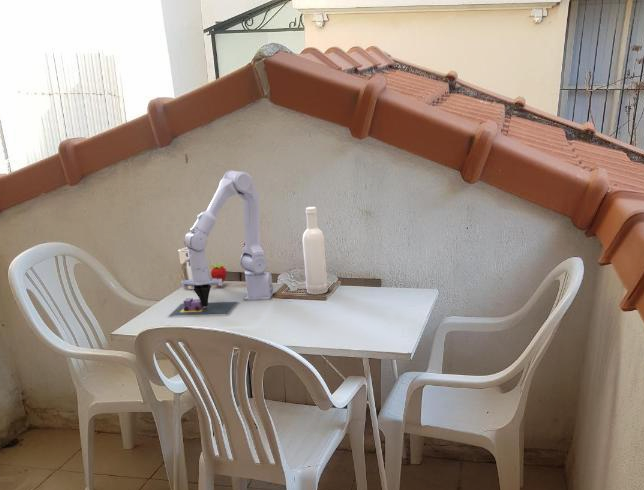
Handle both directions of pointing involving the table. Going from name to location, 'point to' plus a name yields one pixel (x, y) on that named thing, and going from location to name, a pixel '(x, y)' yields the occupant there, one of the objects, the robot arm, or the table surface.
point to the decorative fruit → (218, 272)
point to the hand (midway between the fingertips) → (205, 305)
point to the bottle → (314, 255)
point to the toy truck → (192, 304)
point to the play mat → (206, 309)
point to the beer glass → (186, 265)
